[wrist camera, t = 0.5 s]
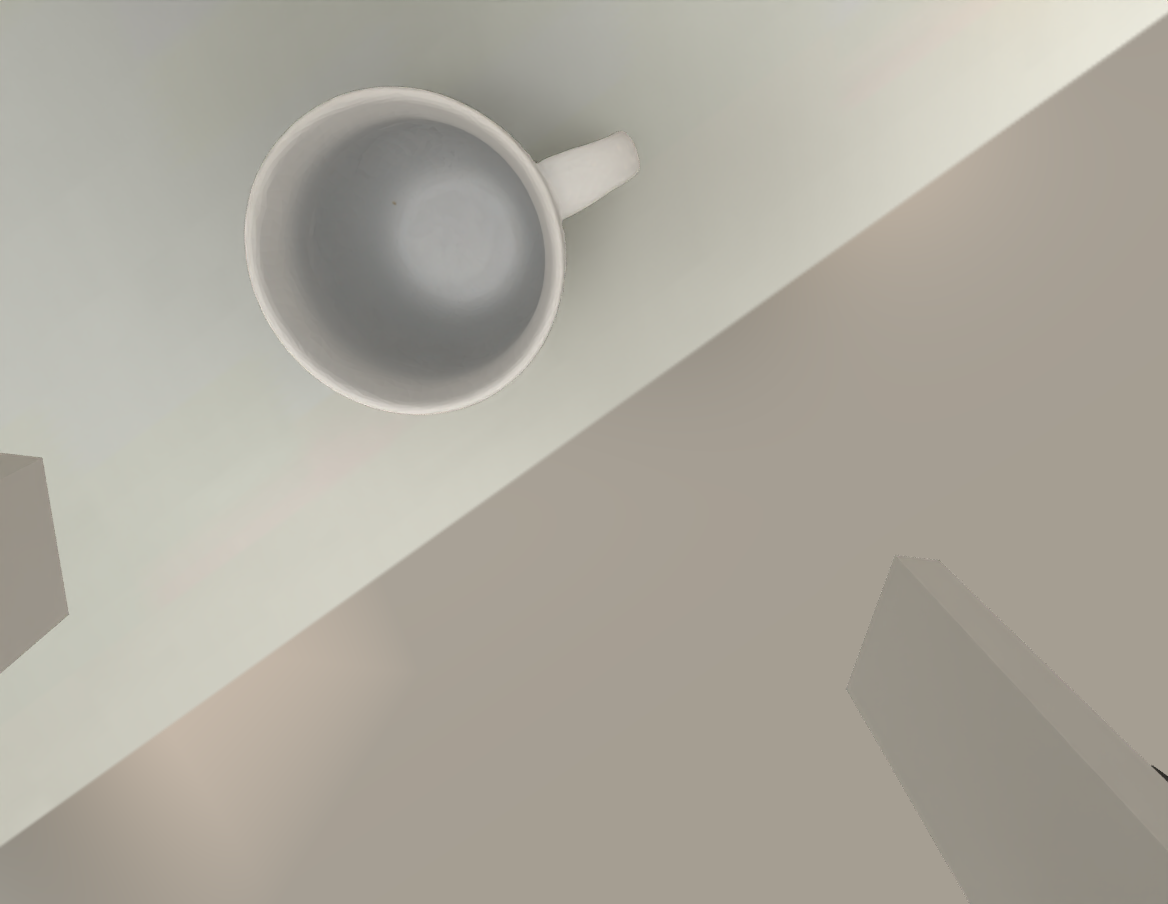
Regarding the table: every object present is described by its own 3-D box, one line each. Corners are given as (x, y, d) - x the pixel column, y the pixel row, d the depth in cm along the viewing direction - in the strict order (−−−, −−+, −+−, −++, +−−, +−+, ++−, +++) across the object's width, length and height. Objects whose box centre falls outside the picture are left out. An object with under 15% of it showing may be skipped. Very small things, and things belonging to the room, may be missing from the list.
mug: (573, 43, 31) (580, -55, 19) (664, 257, 35) (719, 287, 23) (311, 190, 33) (169, 185, 21) (424, 378, 37) (357, 465, 25)
